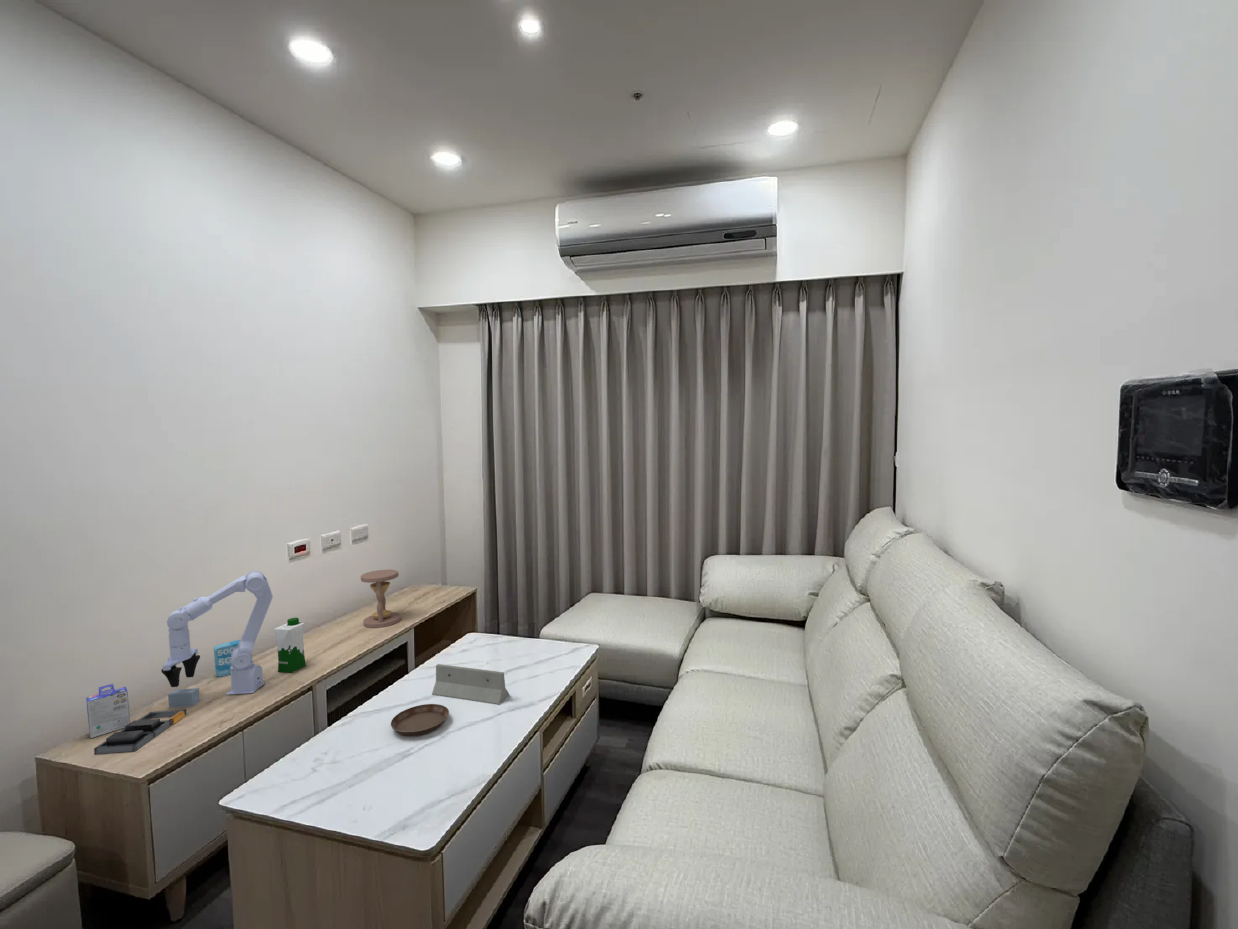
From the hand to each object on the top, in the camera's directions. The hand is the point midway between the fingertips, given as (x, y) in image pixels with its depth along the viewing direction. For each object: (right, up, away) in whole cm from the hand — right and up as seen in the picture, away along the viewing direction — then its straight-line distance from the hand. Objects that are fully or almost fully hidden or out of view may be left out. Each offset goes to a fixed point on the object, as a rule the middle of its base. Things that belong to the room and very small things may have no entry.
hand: (182, 681), depth 194 cm
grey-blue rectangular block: (0, -8, +1) cm, 9 cm away
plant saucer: (+92, -7, -19) cm, 94 cm away
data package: (-1, -7, +27) cm, 28 cm away
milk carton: (+22, -6, +28) cm, 36 cm away
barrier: (+103, -5, 0) cm, 103 cm away
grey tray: (+2, -9, -18) cm, 21 cm away
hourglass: (+36, -3, +83) cm, 90 cm away
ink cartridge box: (-11, -10, -15) cm, 22 cm away
